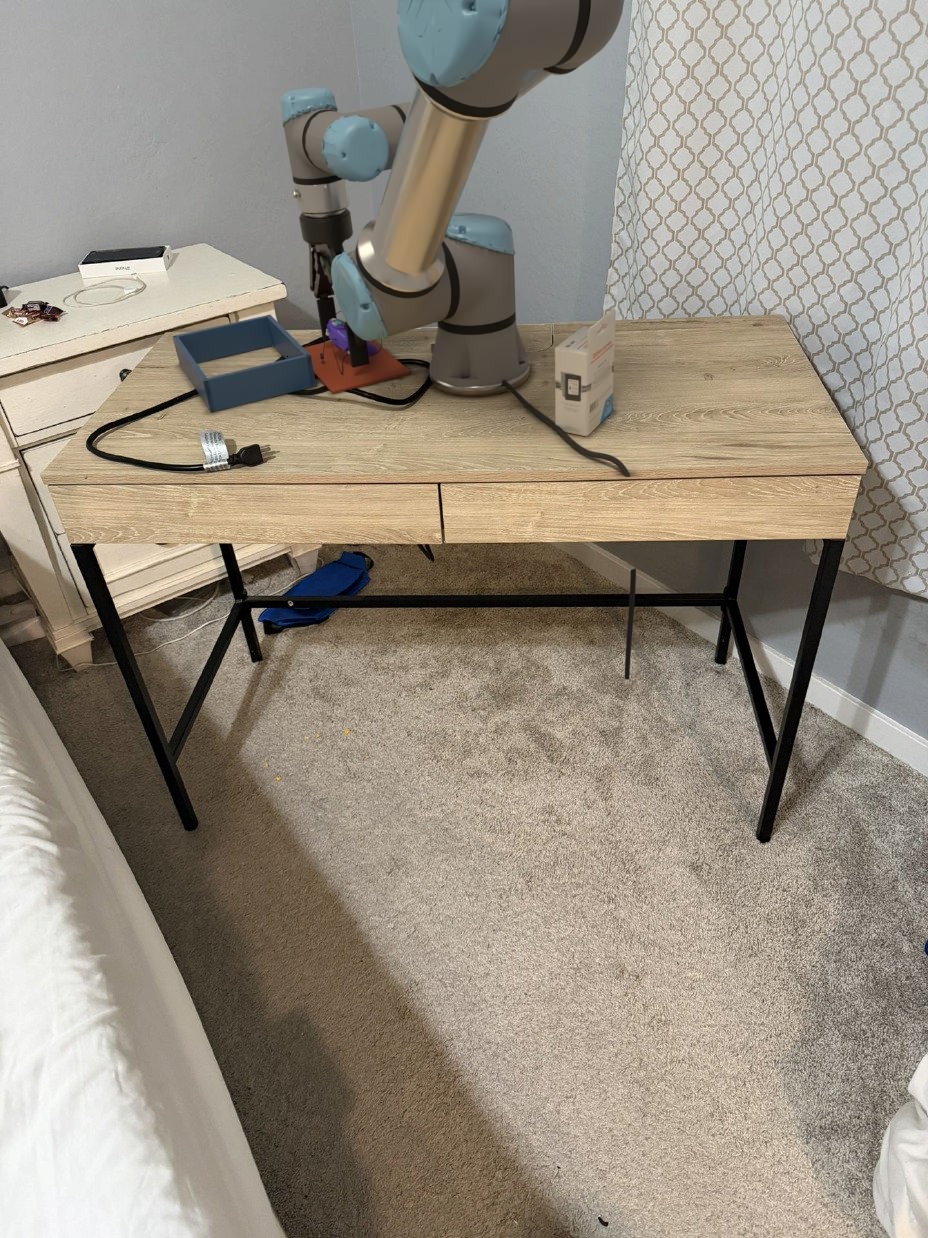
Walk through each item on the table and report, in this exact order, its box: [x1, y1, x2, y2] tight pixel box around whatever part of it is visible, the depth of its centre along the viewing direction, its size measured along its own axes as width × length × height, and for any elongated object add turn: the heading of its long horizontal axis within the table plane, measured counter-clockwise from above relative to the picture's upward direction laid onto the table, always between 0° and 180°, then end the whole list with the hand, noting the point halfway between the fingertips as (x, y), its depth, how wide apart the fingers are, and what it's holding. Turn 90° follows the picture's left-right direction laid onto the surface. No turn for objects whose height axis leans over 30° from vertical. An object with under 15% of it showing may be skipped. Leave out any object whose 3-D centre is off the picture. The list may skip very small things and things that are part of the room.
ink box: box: [554, 308, 617, 437], centre depth 122 cm, size 9×5×15 cm, turn 148°
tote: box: [171, 314, 317, 413], centre depth 146 cm, size 22×17×5 cm
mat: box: [303, 340, 412, 395], centre depth 148 cm, size 20×13×1 cm, turn 26°
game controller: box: [320, 310, 383, 375], centre depth 147 cm, size 10×8×10 cm
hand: (345, 351), depth 147 cm, fingers open, 13 cm apart
